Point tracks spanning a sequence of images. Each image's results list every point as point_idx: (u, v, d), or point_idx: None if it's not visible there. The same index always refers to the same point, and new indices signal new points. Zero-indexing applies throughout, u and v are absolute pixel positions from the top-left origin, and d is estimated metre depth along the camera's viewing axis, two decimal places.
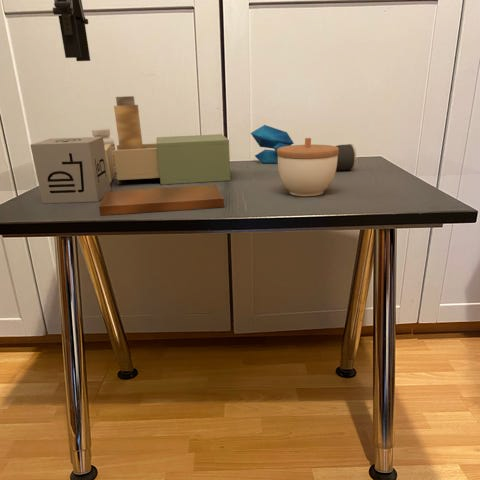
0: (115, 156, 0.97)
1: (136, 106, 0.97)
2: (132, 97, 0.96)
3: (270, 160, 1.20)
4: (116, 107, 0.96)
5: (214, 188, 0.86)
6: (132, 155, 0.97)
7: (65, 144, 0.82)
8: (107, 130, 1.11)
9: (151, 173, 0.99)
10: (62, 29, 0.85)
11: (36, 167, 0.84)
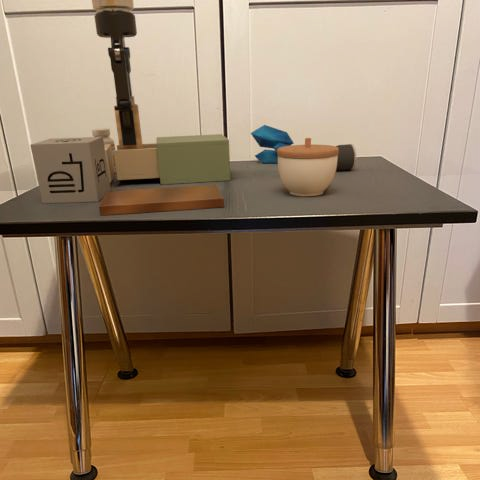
0: (115, 156, 0.97)
1: (136, 106, 0.97)
2: (132, 97, 0.96)
3: (270, 160, 1.20)
4: None
5: (214, 188, 0.86)
6: (132, 155, 0.97)
7: (65, 144, 0.82)
8: (107, 130, 1.11)
9: (151, 173, 0.99)
10: (121, 122, 0.96)
11: (36, 167, 0.84)
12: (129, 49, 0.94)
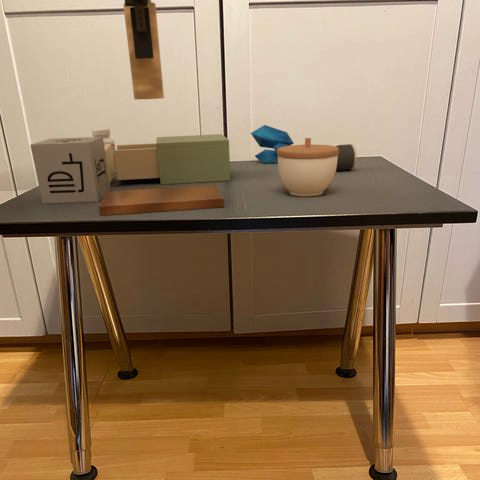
0: (115, 156, 0.97)
1: (153, 4, 0.72)
2: None
3: (270, 160, 1.20)
4: None
5: (214, 188, 0.86)
6: (132, 155, 0.97)
7: (65, 144, 0.82)
8: (107, 130, 1.11)
9: (151, 173, 0.99)
10: (133, 24, 0.71)
11: (36, 167, 0.84)
12: None
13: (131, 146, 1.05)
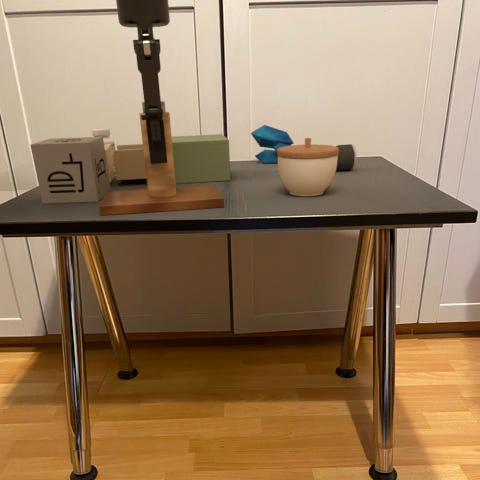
0: (115, 156, 0.97)
1: (167, 114, 0.76)
2: (163, 102, 0.76)
3: (270, 160, 1.20)
4: None
5: (214, 188, 0.86)
6: (132, 155, 0.97)
7: (65, 144, 0.82)
8: (107, 130, 1.11)
9: None
10: (149, 134, 0.75)
11: (36, 167, 0.84)
12: None
13: (131, 146, 1.05)
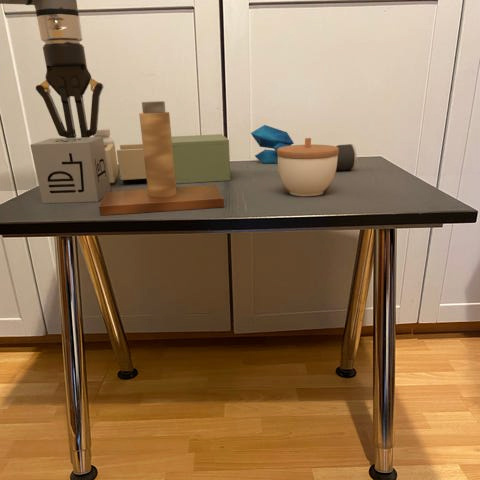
0: (118, 156, 0.97)
1: (167, 114, 0.76)
2: (163, 102, 0.76)
3: (270, 160, 1.20)
4: (142, 115, 0.76)
5: (214, 188, 0.86)
6: (135, 155, 0.97)
7: (65, 144, 0.82)
8: (107, 130, 1.11)
9: None
10: None
11: (36, 167, 0.84)
12: (74, 78, 0.92)
13: (134, 146, 1.05)
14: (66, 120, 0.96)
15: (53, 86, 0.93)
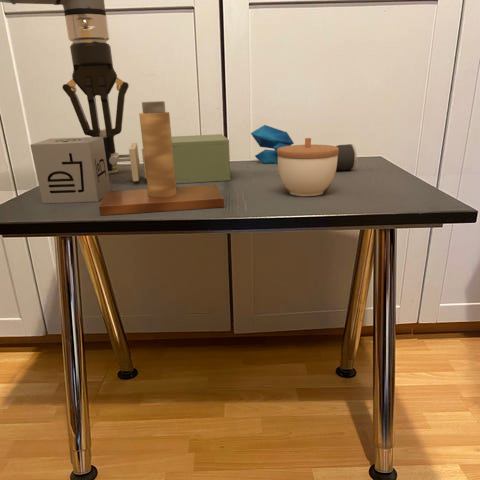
0: (143, 155, 0.97)
1: (167, 114, 0.76)
2: (163, 102, 0.76)
3: (270, 160, 1.20)
4: (142, 115, 0.76)
5: (214, 188, 0.86)
6: None
7: (65, 144, 0.82)
8: None
9: None
10: None
11: (36, 167, 0.84)
12: (100, 77, 0.93)
13: None
14: (92, 119, 0.97)
15: (79, 85, 0.94)
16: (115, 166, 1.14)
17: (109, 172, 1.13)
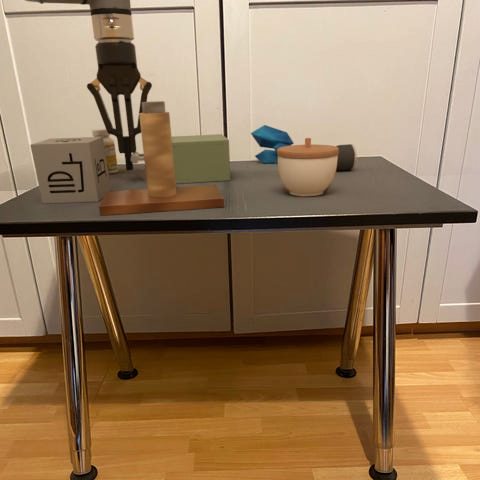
0: None
1: (167, 114, 0.76)
2: (163, 102, 0.76)
3: (270, 160, 1.20)
4: (142, 115, 0.76)
5: (214, 188, 0.86)
6: None
7: (65, 144, 0.82)
8: None
9: None
10: None
11: (36, 167, 0.84)
12: (125, 77, 0.94)
13: None
14: (115, 118, 0.97)
15: (104, 84, 0.94)
16: (115, 166, 1.14)
17: (109, 172, 1.13)
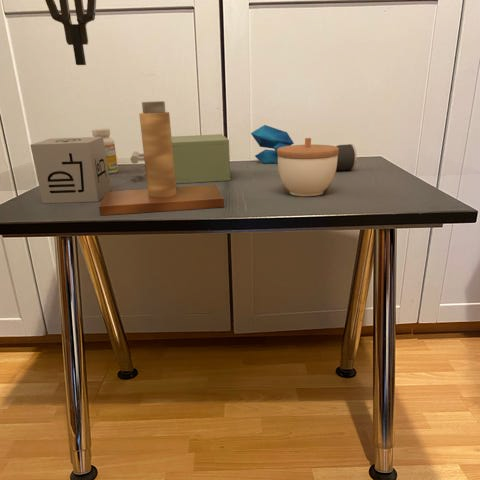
0: None
1: (167, 114, 0.76)
2: (163, 102, 0.76)
3: (270, 160, 1.20)
4: (142, 115, 0.76)
5: (214, 188, 0.86)
6: None
7: (65, 144, 0.82)
8: (107, 130, 1.11)
9: None
10: None
11: (36, 167, 0.84)
12: None
13: None
14: (60, 0, 0.86)
15: None
16: (115, 166, 1.14)
17: (109, 172, 1.13)
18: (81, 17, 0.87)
